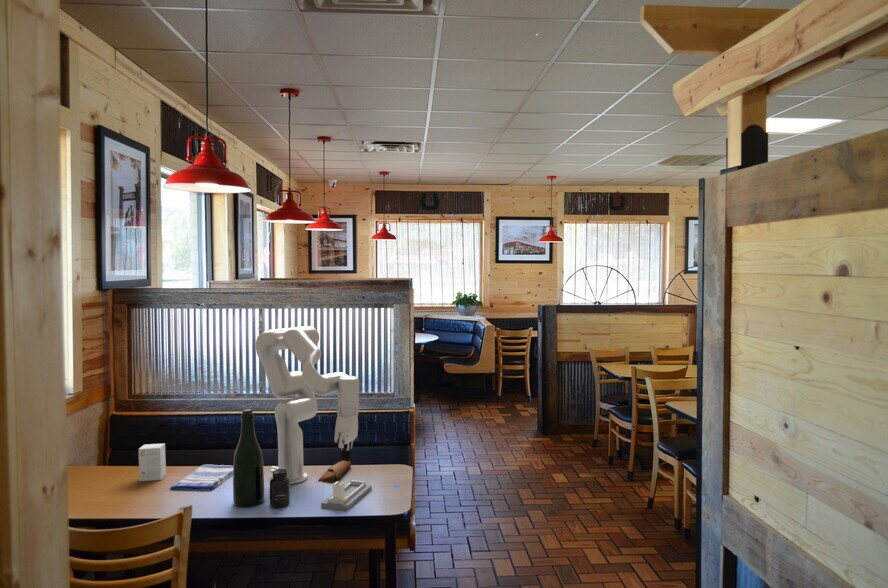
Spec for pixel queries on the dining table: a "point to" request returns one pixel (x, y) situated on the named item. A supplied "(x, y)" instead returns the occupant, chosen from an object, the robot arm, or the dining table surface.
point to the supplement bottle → (279, 489)
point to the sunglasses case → (335, 472)
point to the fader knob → (339, 490)
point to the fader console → (348, 496)
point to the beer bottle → (248, 466)
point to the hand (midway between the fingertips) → (346, 459)
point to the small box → (152, 462)
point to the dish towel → (205, 478)
